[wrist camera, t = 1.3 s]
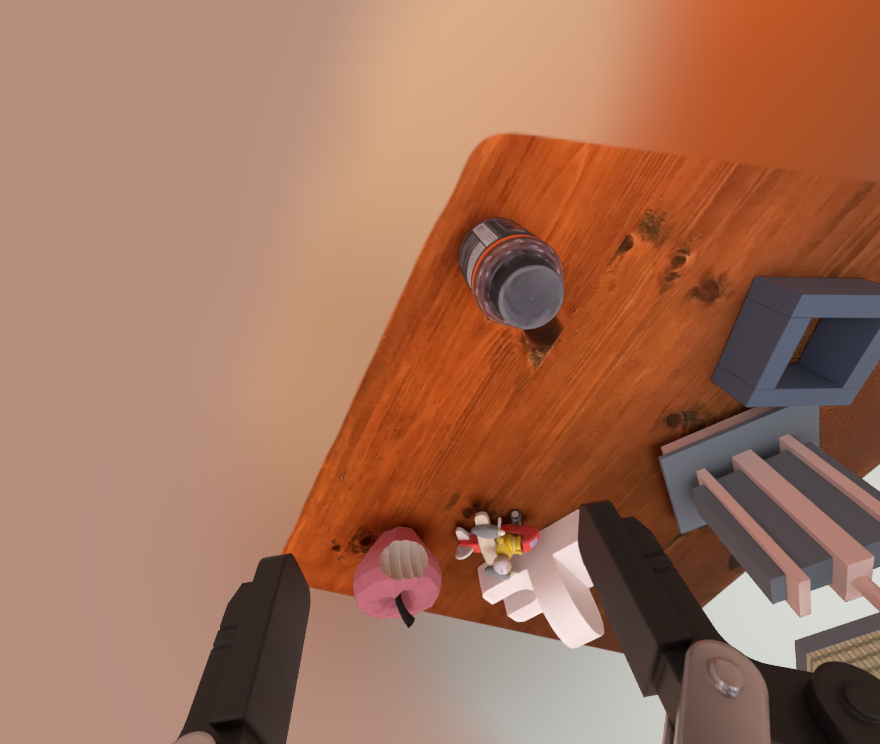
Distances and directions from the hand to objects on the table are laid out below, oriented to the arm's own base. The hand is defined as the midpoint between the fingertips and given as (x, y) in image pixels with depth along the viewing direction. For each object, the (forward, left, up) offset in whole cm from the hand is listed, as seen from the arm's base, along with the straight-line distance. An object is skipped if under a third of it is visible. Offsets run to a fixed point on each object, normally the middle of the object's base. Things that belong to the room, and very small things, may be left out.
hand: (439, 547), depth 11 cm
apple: (+32, -1, -26) cm, 41 cm away
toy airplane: (+31, +10, -26) cm, 42 cm away
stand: (+5, +37, -26) cm, 45 cm away
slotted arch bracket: (+37, +19, -26) cm, 49 cm away
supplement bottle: (-2, +7, -26) cm, 27 cm away
